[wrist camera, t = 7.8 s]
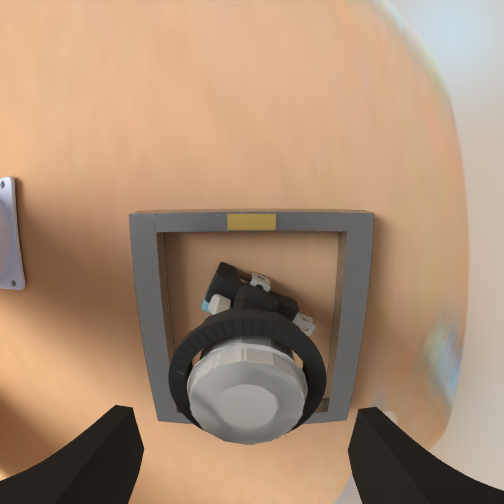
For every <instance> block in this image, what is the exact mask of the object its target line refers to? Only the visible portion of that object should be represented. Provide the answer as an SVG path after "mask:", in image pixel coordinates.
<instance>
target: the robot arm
mask: <svg viewBox="0 0 504 504" xmlns="http://www.w3.org/2000/svg"><path fill="white" fill-rule="evenodd" d="M4 182H5V187H4ZM14 281H15V282H16V284H15V282H14ZM0 288H1V289H12V290H22V289H24V288H25V278H24V272H23V265H22V259H21V252H20V244H19V235H18V225H17V213H16V198H15V180H14V178H13V177H3V178H0ZM143 452H144V446H143V443H142V440H141V436H140V433H139V429H138V426H137V422H136V419H135V415H134V411H133V408H132V407H126V406H119V405H115V406H114V407H113V408H111V409H110V410H109V411H108V412H107V413H105V414H104V415H103V416H102V417H101V418H100V419H98V420H97V421H96V422H95V423H94V424H92V425H91V426H90V427H89V428H88V429H86V430H85V431H84V432H83V433H82V434H80V435H79V436H78V437H77V438H75V439H74V440H73V441H71V442H70V443H69V444H67V445H66V446H64V447H63V448H62V449H60V450H59V451H57V452H56V453H55V454H53V455H52V456H50V457H49V458H47V459H45V460H44V461H42V462H40V463H39V464H37V465H35V466H33V467H31V468H29V469H27V470H25V471H23V472H21V473H19V474H16V475H14V476H11V477H9V478H7V479H4V480H2V481H0V504H128V502H129V499H130V496H131V494H132V491H133V488H134V486H135V483H136V480H137V477H138V474H139V471H140V466H141V462H142V457H143ZM348 454H349V459H350V465H351V469H352V474H353V477H354V480H355V483H356V486H357V489H358V492H359V495H360V498H361V501H362V503H363V504H504V491H502V490H500V489H497V488H494V487H491V486H488V485H486V484H484V483H481V482H479V481H476V480H474V479H472V478H470V477H468V476H466V475H464V474H463V473H461V472H459V471H457V470H455V469H454V468H452V467H450V466H449V465H447V464H445V463H444V462H442V461H441V460H439V459H438V458H436V457H435V456H434V455H432V454H431V453H430V452H428V451H427V450H426V449H424V448H423V447H422V446H420V445H419V444H418V443H417V442H415V441H414V440H413V439H412V438H411V437H409V436H408V435H407V434H406V433H405V432H404V431H403V430H401V429H400V428H399V427H398V426H397V425H396V424H395V423H394V422H392V421H391V420H390V419H389V418H388V417H387V416H386V415H385V414H384V413H383V412H382V411H380V410H379V409H378V408H377V407H371V408H363V409H359V410H358V414H357V418H356V422H355V426H354V430H353V433H352V437H351V441H350V444H349V448H348Z"/></svg>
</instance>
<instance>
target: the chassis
mask: <svg viewBox="0 0 504 504" xmlns="http://www.w3.org/2000/svg"><path fill="white" fill-rule="evenodd" d="M129 221H130V236H131V249H132V261H133V271H134V281H135V290H136V298H137V306H138V314H139V321H140V328H141V334H142V341H143V347H144V353H145V359H146V364H147V370H148V375H149V380H150V385H151V390H152V395H153V400H154V404H155V409H156V413H157V417H158V421H164V422H175V423H187V424H193V423H192V422H190V421H189V420H188V419H187V418H186V417H185V416H184V415H183V414H182V412H181V411H180V410H179V409H178V407H177V406H176V404H175V402H174V400H173V398H172V395H171V393H170V389H169V383H168V373H169V367H170V363H171V360H172V358H173V356H174V345H173V336H172V327H171V318H170V308H169V297H168V286H167V274H166V260H165V244H164V232H212V231H339V251H338V268H337V282H336V295H335V307H334V318H333V328H332V338H331V347H330V355H329V363H328V371H327V379H326V380H327V382H326V389H325V393H324V399H322V401H321V403H320V405H319V406H318V408H317V409H316V411H315V412H314V413H313V414H312V416H311V417H310V418H309V419H308V420H307V421H305V422H304V423H303V424H310V423H323V422H333V421H343V420H347V416H348V412H349V407H350V403H351V398H352V393H353V388H354V383H355V377H356V372H357V366H358V360H359V354H360V348H361V342H362V335H363V328H364V321H365V313H366V305H367V296H368V287H369V277H370V266H371V254H372V240H373V223H374V213H372V212H368V211H365V210H329V209H203V210H164V211H138V212H135V213H132V214H129Z"/></svg>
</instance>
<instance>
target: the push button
mask: <svg viewBox="0 0 504 504" xmlns="http://www.w3.org/2000/svg"><path fill="white" fill-rule="evenodd" d="M259 277H260V278H262V279H264V280H262V279H260V278H259ZM270 288H271V286H270V280H269V279H268V278H267V277H264V276H262V275H260V274H258V273H256V272H252V280H251V282H250V281H248V280H246V279H244V278H242V277H239V275H238V272H237V269H236V268H234V267H233V266H231V265H228V264H226V263H224V262H221V263H220V265H219V267H218V269H217V271H216V273H215V275H214V277H213V280H212V282H211V284H210V286H209V288H208V290H207V293H206V295H205V298H204V300H203V303H202V306H201V308H202V309H203V310H204V311H206V312H208V313H210V314H212V315H211V316H209V317H208V318H207V319H206V320H205V321H204V322H203V323H202V325H200V326H198V327H197V328H195V329H194V330H193V331H191V332H190V333H189V334H188V335H187V336H186V337H185V338H184V339H183V340H182V342H181V343H180V344H179V346H178V347H177V349H176V351H175V353H174V356H173V358H172V360H171V363H170V367H169V373H168V383H169V389H170V393H171V395H172V398H173V400H174V402H175V404H176V406H177V407H178V409H179V410H180V411H181V412H182V414H183V415H184V416H185V417H186V418H187V419H188V420H189V421H190V422H192V423H193V424H194V425H196V426H197V427H199V428H200V429H202V430H204V431H206V432H208V433H210V434H212V435H214V436H216V437H218V438H219V439H221V440H223V441H227V442H233V443H239V444H246V445H249V444H251V445H252V444H256V443H262V442H268V441H272V440H274V439H277V438H279V437H280V436H281V435H284V434H286V433H288V432H290V431H292V430H294V429H296V428H297V427H299V426H300V425H302V424H303V423H304V422H305V421H307V420H308V419H309V418H310V417H311V416H312V414H313V413H314V412H315V411H316V409H317V408H318V406H319V405H320V403H321V401H322V399H323V396H324V393H325V389H326V382H327V380H326V369H325V366H324V362H323V360H322V357H321V355H320V352H319V350H318V349H317V347H316V346H315V344H314V343H313V342H312V340H311V339H310V338H309V337H308V336H311V334H312V333H313V331H314V329H315V328H316V325H315V324H312V322H313V318H311V317H309V316H306V315H304V314H302V313H299V312H298V311H299V308H298V305H297V302H296V301H295V300H293V299H292V298H290V297H287V296H282V295H279V294H277V293H275V292H273V291H270ZM303 318H304V319H306V320H307V321H305V320H303ZM302 328H304V329H308V328H309V329H308V330H307V331H303V330H302ZM201 350H202V353H201V357H200V360H199V362H197V363H196V364H195V366H194V367H193V365H192V360H193V358H194V357H195V356H196V355H197V353H199V352H200V351H201ZM292 350H293V351H294V352H295V353H296V354H297V355H298V356H299V357H300V358H301V360H302V361H303V369H301V368H300V367H299V366H298V365H297V364H296V363H295V360H294V356H293V353H292Z"/></svg>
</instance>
